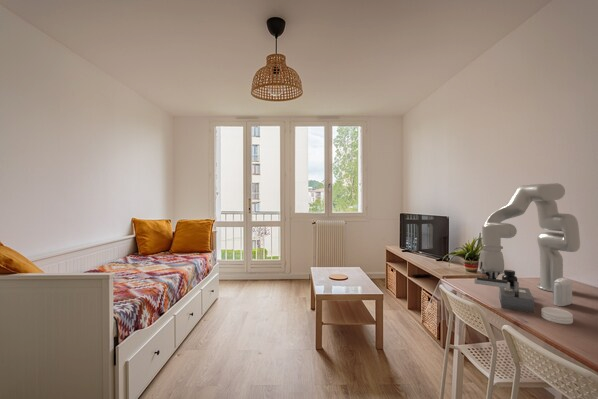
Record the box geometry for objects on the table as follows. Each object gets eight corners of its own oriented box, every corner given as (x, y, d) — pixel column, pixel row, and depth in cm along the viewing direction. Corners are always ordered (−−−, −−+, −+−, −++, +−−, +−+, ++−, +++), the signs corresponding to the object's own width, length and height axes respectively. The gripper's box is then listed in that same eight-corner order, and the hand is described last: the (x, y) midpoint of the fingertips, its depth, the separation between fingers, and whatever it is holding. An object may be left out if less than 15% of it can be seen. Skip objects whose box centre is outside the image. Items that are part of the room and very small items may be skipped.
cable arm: (474, 283, 140) (474, 277, 140) (475, 282, 142) (474, 276, 142) (510, 288, 132) (509, 281, 132) (509, 286, 134) (509, 280, 134)
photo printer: (562, 300, 140) (562, 276, 140) (573, 303, 136) (573, 278, 136) (551, 304, 136) (551, 278, 136) (562, 307, 132) (562, 281, 132)
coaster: (541, 312, 127) (541, 305, 127) (572, 318, 121) (572, 310, 121) (541, 320, 120) (541, 312, 120) (574, 327, 113) (573, 318, 113)
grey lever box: (499, 296, 148) (498, 272, 148) (528, 300, 142) (528, 275, 142) (501, 307, 133) (500, 281, 133) (534, 313, 126) (533, 285, 126)
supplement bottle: (520, 295, 149) (520, 272, 149) (505, 294, 150) (505, 272, 150) (513, 291, 156) (513, 269, 156) (499, 290, 157) (499, 268, 157)
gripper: (501, 247, 146) (502, 282, 146) (472, 247, 146) (472, 283, 146) (512, 249, 138) (512, 287, 138) (480, 250, 139) (481, 287, 139)
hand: (492, 285), depth 142 cm, fingers closed
